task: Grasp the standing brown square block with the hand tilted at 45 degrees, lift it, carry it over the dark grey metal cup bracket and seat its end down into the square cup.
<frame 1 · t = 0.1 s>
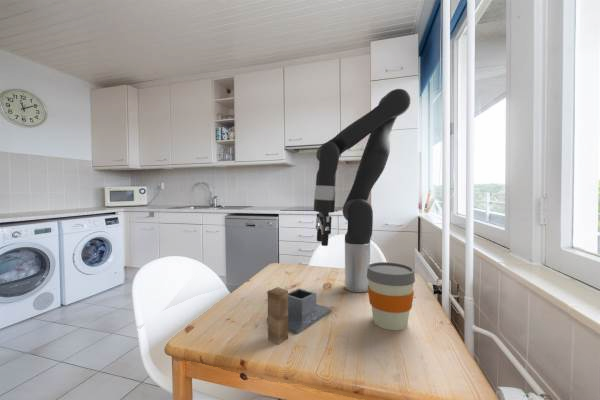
hand: (321, 243, 97), 17 cm above the table, tool pointing down, fingers open, 8 cm apart
cup bracket: (300, 316, 77), on the table
reusable coffee cup: (390, 322, 74), on the table
brown square block: (278, 338, 66), on the table
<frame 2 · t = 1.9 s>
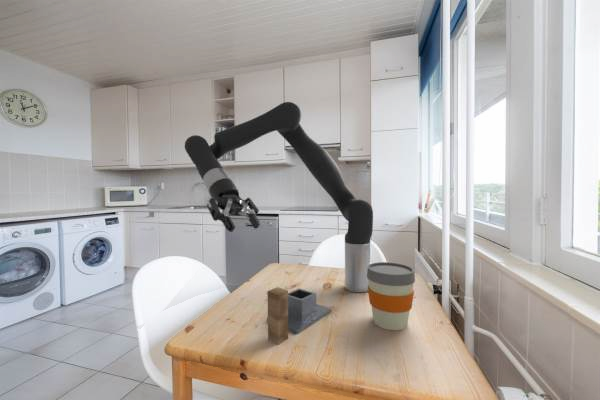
hand: (245, 228, 73), 26 cm above the table, tool tilted 45°, fingers open, 8 cm apart
nothing on the table moved.
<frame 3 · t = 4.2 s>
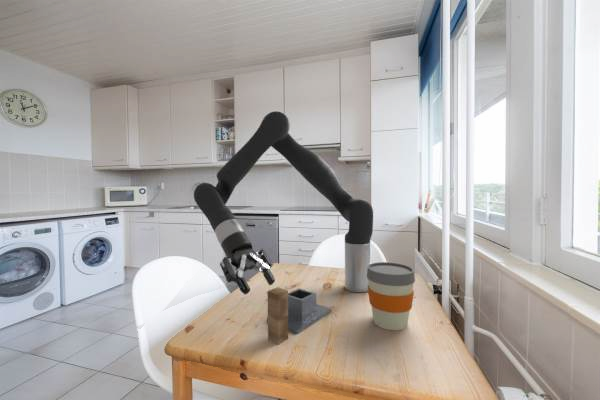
hand: (260, 287, 69), 11 cm above the table, tool tilted 45°, fingers open, 8 cm apart
nothing on the table moved.
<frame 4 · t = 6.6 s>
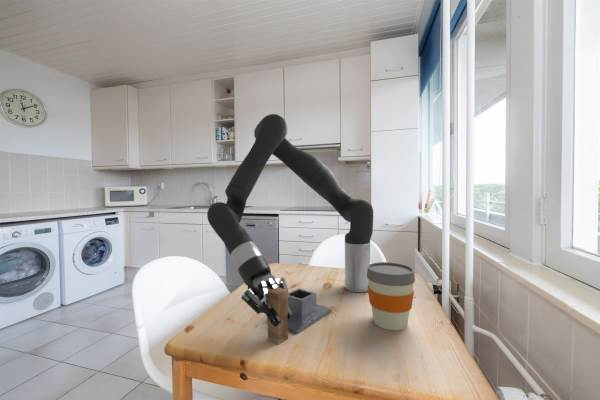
hand: (284, 321, 64), 5 cm above the table, tool tilted 45°, fingers closed on brown square block, 3 cm apart
brown square block: (278, 338, 66), on the table, touching gripper
everything else where it was.
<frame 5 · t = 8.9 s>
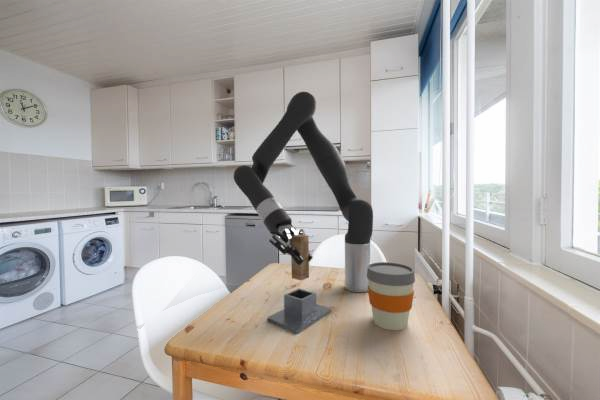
hand: (305, 261, 75), 17 cm above the table, tool tilted 45°, fingers closed on brown square block, 3 cm apart
brown square block: (300, 277, 76), point 12 cm above the table, touching gripper
everything else where it was.
when the fingers open (10 cm above the table, at t = 11.0 s): brown square block drops 2 cm, resting on cup bracket.
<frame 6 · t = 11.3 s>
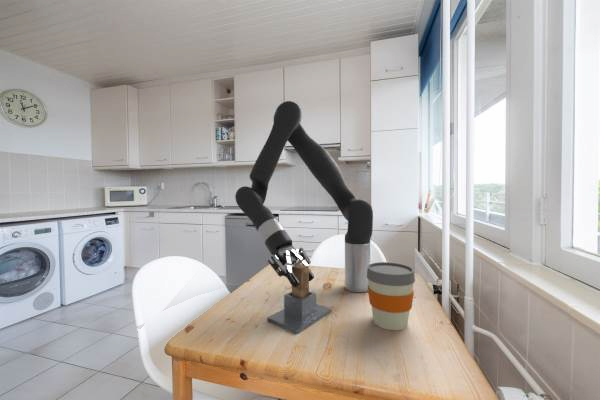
hand: (304, 282, 76), 10 cm above the table, tool tilted 45°, fingers open, 6 cm apart
brown square block: (300, 307, 77), point 3 cm above the table, touching cup bracket
everything else where it was.
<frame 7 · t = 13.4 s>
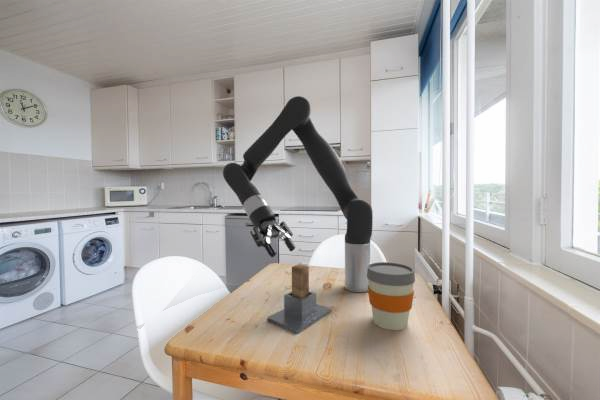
hand: (284, 252, 82), 17 cm above the table, tool tilted 40°, fingers open, 8 cm apart
nothing on the table moved.
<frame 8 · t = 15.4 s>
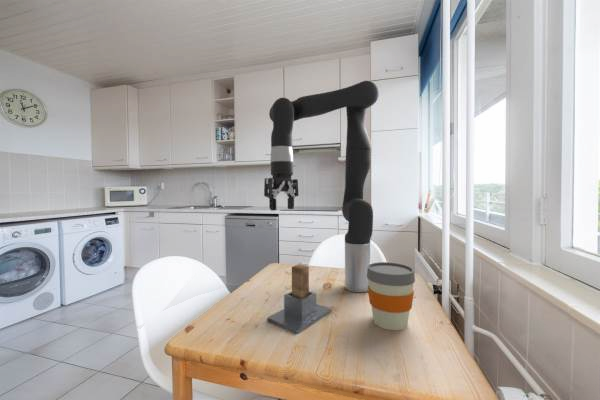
hand: (282, 209, 90), 30 cm above the table, tool pointing down, fingers open, 8 cm apart
nothing on the table moved.
at the end: brown square block 0.1 cm off-centre on the cup bracket, point 2.5 cm above the cup bracket's base; brown square block tilted 0°; the gripper is holding nothing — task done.
